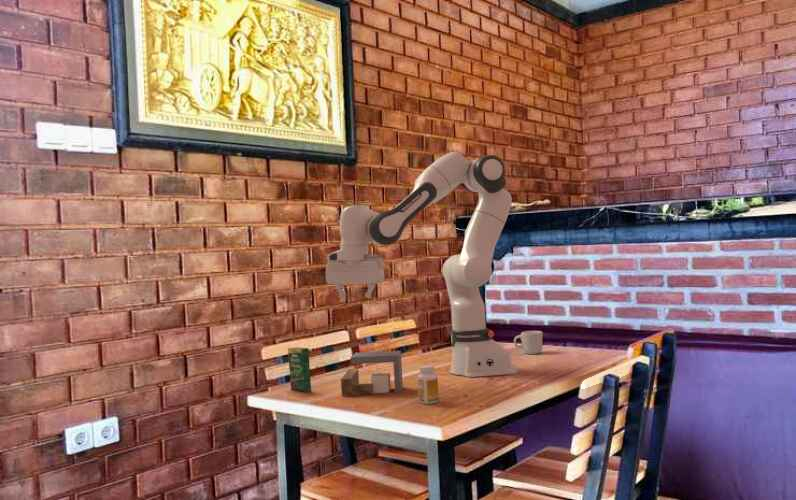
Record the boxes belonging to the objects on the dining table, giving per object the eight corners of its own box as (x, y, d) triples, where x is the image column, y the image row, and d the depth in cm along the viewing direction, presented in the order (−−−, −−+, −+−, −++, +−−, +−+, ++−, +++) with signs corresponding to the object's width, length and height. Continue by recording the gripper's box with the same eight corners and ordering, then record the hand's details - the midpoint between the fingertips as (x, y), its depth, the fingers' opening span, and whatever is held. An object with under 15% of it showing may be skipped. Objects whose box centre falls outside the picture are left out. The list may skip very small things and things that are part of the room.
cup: (514, 355, 241) (513, 334, 241) (514, 352, 249) (513, 331, 249) (544, 354, 239) (543, 333, 239) (543, 351, 247) (541, 330, 247)
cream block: (390, 388, 195) (389, 372, 195) (388, 392, 190) (388, 375, 190) (374, 389, 196) (373, 372, 196) (372, 393, 191) (371, 376, 191)
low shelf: (402, 387, 196) (400, 350, 196) (400, 392, 188) (398, 355, 188) (357, 388, 198) (355, 352, 198) (352, 394, 190) (350, 357, 190)
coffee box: (289, 389, 203) (287, 347, 203) (297, 387, 205) (295, 346, 205) (303, 392, 197) (301, 349, 197) (311, 390, 198) (309, 348, 198)
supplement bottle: (441, 399, 177) (439, 364, 177) (435, 404, 172) (433, 368, 172) (422, 399, 179) (420, 364, 179) (416, 404, 174) (414, 367, 174)
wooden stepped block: (377, 383, 204) (376, 367, 204) (372, 395, 188) (371, 377, 188) (349, 384, 205) (348, 369, 205) (341, 396, 189) (340, 379, 189)
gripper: (387, 254, 205) (388, 297, 205) (333, 255, 215) (334, 297, 215) (377, 254, 200) (378, 299, 200) (322, 255, 209) (323, 298, 209)
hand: (355, 298), depth 207 cm, fingers open, 8 cm apart
